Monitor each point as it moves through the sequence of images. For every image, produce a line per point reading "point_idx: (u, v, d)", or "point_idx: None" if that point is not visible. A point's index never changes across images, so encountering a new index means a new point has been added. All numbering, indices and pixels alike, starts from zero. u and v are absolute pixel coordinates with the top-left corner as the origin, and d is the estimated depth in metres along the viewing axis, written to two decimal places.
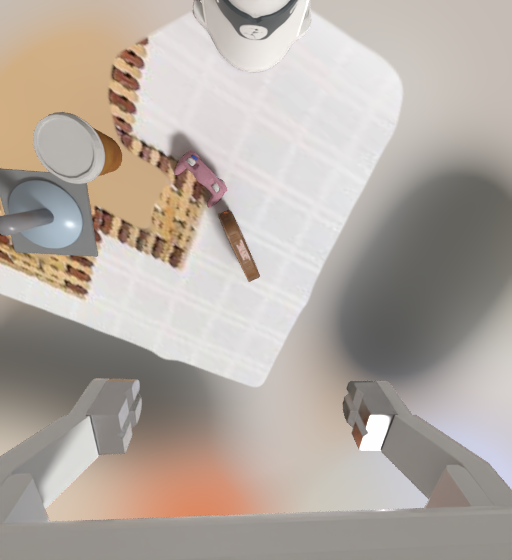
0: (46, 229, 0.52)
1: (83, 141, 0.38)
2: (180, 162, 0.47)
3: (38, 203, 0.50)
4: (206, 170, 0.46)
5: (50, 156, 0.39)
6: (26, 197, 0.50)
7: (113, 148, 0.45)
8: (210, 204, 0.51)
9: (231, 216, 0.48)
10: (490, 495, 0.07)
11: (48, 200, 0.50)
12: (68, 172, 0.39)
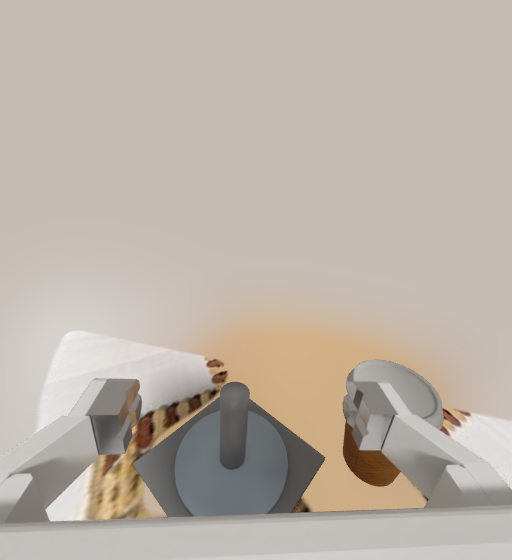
0: (213, 470, 0.29)
1: (422, 395, 0.28)
2: None
3: None
4: None
5: None
6: None
7: None
8: None
9: None
10: (490, 495, 0.07)
11: (256, 444, 0.32)
12: None
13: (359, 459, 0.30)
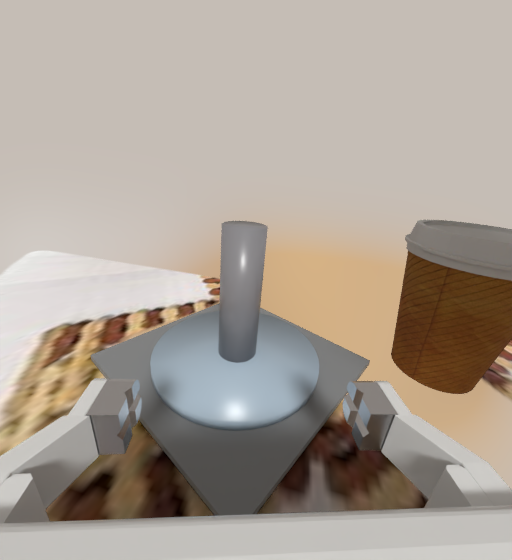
0: (209, 362, 0.20)
1: None
2: None
3: None
4: None
5: None
6: None
7: None
8: None
9: None
10: (490, 495, 0.07)
11: (271, 341, 0.23)
12: None
13: (427, 349, 0.20)
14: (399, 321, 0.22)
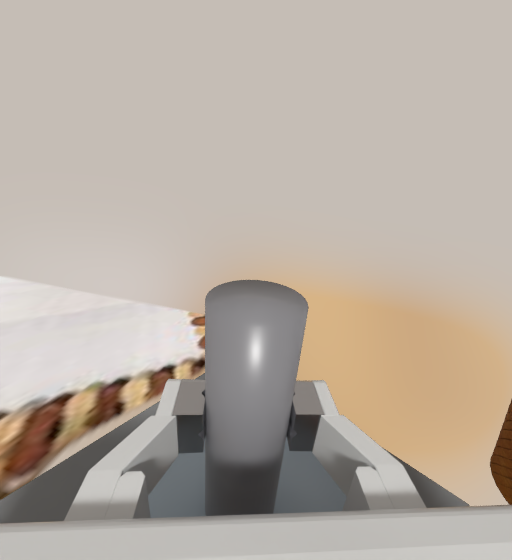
0: None
1: None
2: None
3: None
4: None
5: None
6: None
7: None
8: None
9: None
10: (394, 498, 0.06)
11: (299, 469, 0.13)
12: None
13: None
14: None
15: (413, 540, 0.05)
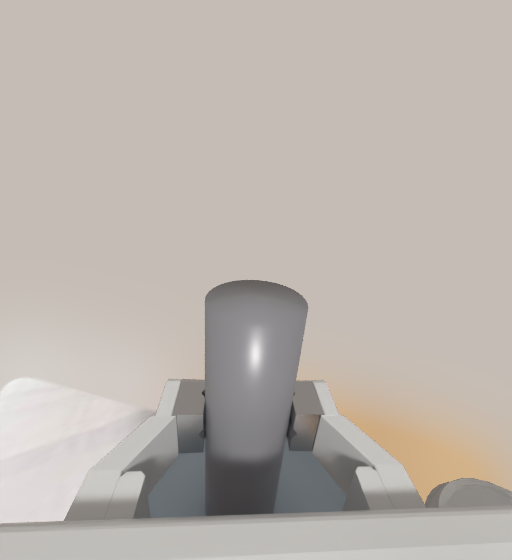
0: None
1: None
2: None
3: None
4: None
5: None
6: None
7: None
8: None
9: None
10: (393, 498, 0.06)
11: (299, 469, 0.13)
12: None
13: None
14: None
15: (413, 540, 0.05)
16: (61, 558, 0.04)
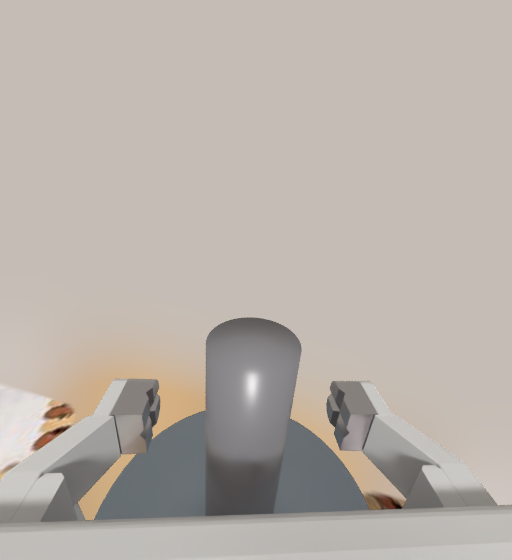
0: None
1: None
2: None
3: None
4: None
5: None
6: None
7: None
8: None
9: None
10: (464, 496, 0.06)
11: (295, 488, 0.14)
12: None
13: None
14: None
15: (413, 540, 0.05)
16: (61, 558, 0.04)
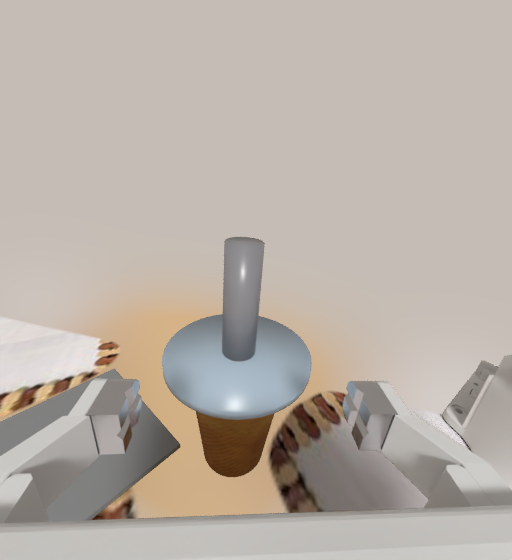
0: (213, 361, 0.22)
1: None
2: None
3: None
4: None
5: None
6: None
7: (267, 434, 0.26)
8: None
9: None
10: (490, 495, 0.07)
11: (269, 342, 0.25)
12: None
13: (205, 443, 0.25)
14: None
15: (413, 540, 0.05)
16: (61, 558, 0.04)
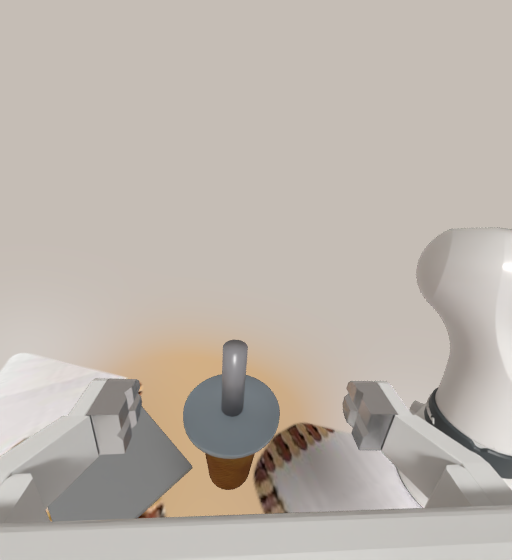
0: (216, 416, 0.35)
1: None
2: None
3: None
4: None
5: None
6: None
7: (251, 461, 0.38)
8: None
9: None
10: (490, 495, 0.07)
11: (253, 399, 0.38)
12: None
13: (210, 467, 0.38)
14: None
15: (413, 540, 0.05)
16: (61, 558, 0.04)
